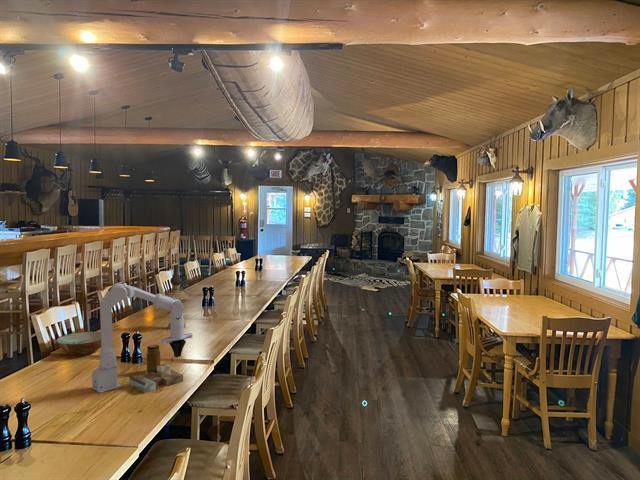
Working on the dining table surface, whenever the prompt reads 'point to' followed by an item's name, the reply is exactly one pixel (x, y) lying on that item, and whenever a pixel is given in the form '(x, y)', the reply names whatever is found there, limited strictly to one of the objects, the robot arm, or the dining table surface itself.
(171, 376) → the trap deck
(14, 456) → the dining table surface
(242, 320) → the dining table surface
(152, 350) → the condiment
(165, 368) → the block
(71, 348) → the bowl
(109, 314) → the robot arm
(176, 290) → the oil lamp
